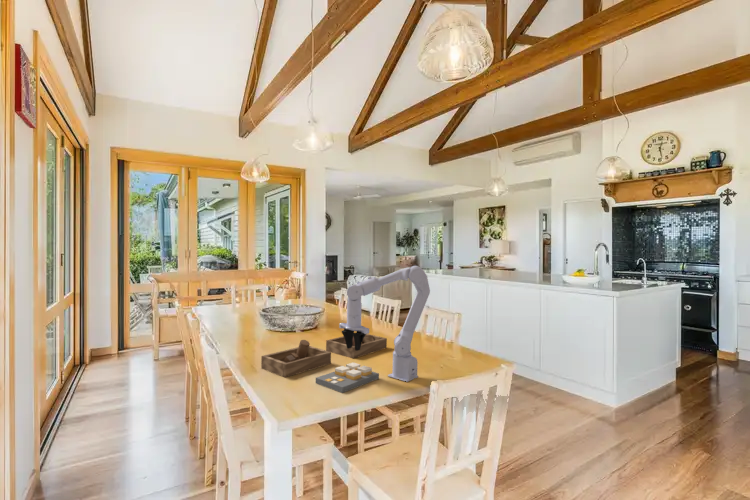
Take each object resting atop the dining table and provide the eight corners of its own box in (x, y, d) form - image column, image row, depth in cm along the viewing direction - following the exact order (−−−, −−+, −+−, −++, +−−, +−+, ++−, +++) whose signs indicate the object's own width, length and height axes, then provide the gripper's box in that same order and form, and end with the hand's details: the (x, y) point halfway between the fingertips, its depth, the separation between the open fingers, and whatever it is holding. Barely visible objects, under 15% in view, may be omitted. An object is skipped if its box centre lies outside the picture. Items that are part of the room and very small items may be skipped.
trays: (386, 348, 198) (386, 338, 198) (288, 378, 152) (288, 365, 152) (359, 341, 210) (360, 332, 210) (261, 368, 164) (261, 356, 164)
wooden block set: (288, 379, 158) (294, 358, 155) (275, 366, 163) (281, 345, 160) (320, 366, 173) (326, 346, 170) (307, 355, 177) (313, 335, 174)
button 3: (360, 370, 158) (360, 364, 158) (353, 373, 155) (353, 366, 155) (352, 368, 161) (353, 362, 161) (345, 370, 158) (346, 364, 158)
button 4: (349, 374, 154) (349, 368, 153) (342, 377, 150) (342, 370, 150) (342, 372, 156) (342, 365, 156) (334, 374, 153) (335, 368, 153)
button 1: (371, 374, 154) (371, 367, 154) (364, 376, 151) (364, 370, 151) (363, 371, 157) (364, 365, 157) (357, 374, 154) (357, 367, 154)
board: (378, 378, 154) (378, 372, 154) (342, 393, 139) (342, 386, 139) (352, 370, 164) (352, 365, 163) (315, 383, 148) (315, 377, 148)
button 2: (361, 378, 150) (361, 371, 150) (353, 380, 147) (353, 374, 147) (353, 375, 152) (353, 369, 152) (346, 378, 149) (346, 371, 149)
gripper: (334, 313, 159) (333, 347, 159) (360, 318, 150) (360, 354, 150) (346, 311, 164) (345, 344, 165) (373, 316, 155) (372, 351, 155)
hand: (353, 349), depth 158 cm, fingers open, 4 cm apart
